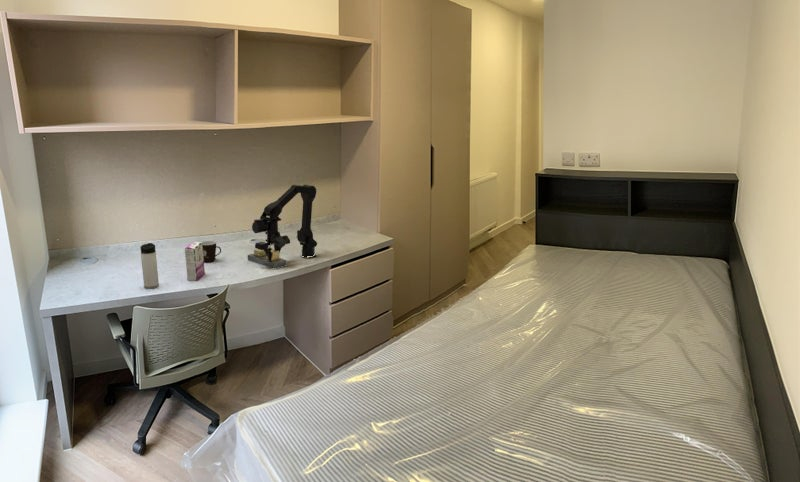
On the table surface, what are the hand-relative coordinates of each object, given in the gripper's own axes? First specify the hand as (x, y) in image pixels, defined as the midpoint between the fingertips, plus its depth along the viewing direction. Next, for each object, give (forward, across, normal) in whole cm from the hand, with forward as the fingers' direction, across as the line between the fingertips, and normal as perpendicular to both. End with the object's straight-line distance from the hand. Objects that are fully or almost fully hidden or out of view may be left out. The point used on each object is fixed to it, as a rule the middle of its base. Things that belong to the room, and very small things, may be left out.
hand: (273, 259), depth 304 cm
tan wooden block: (+2, 0, 0) cm, 2 cm away
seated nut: (+3, 0, +11) cm, 12 cm away
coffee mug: (+4, -19, +28) cm, 34 cm away
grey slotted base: (+3, 0, +6) cm, 6 cm away
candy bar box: (+4, -38, +12) cm, 40 cm away
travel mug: (+3, -59, +14) cm, 61 cm away
